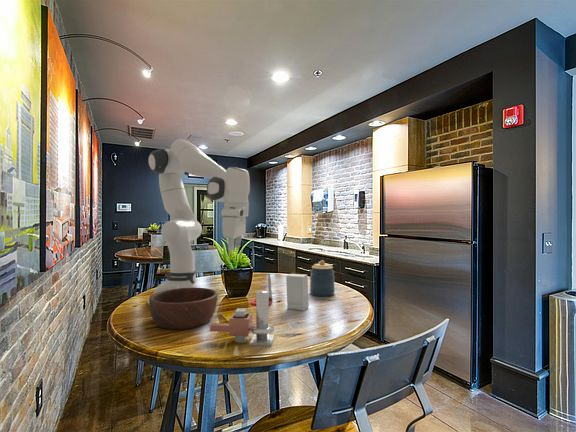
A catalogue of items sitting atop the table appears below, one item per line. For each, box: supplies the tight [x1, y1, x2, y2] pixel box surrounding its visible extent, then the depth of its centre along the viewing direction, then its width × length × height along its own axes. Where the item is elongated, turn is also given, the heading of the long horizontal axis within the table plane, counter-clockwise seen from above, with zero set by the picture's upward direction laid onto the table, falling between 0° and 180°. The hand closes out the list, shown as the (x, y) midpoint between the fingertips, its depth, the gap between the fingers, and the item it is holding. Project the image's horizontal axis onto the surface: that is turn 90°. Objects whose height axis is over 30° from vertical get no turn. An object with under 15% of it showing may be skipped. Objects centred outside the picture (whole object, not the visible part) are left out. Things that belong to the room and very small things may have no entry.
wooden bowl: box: [148, 287, 218, 330], centre depth 120 cm, size 25×25×10 cm
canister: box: [309, 259, 336, 297], centre depth 163 cm, size 13×13×18 cm
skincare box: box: [285, 273, 310, 312], centre depth 137 cm, size 8×6×15 cm
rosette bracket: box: [209, 289, 275, 347], centre depth 101 cm, size 21×8×16 cm, turn 86°
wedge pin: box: [234, 307, 248, 343], centre depth 101 cm, size 3×3×10 cm
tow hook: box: [250, 273, 274, 306], centre depth 145 cm, size 9×14×10 cm
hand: (234, 248), depth 114 cm, fingers open, 8 cm apart
